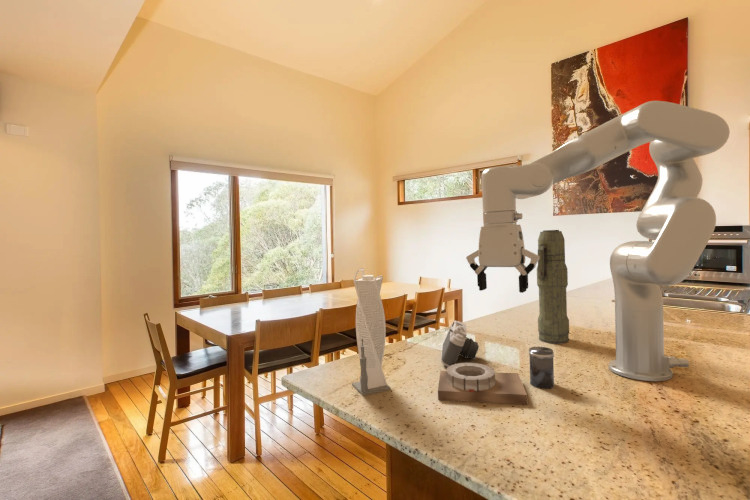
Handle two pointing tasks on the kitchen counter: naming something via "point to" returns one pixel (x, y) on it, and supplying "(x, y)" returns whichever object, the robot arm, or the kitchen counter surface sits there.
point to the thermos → (552, 288)
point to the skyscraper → (370, 334)
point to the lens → (541, 367)
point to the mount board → (492, 395)
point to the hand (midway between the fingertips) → (502, 290)
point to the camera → (457, 345)
